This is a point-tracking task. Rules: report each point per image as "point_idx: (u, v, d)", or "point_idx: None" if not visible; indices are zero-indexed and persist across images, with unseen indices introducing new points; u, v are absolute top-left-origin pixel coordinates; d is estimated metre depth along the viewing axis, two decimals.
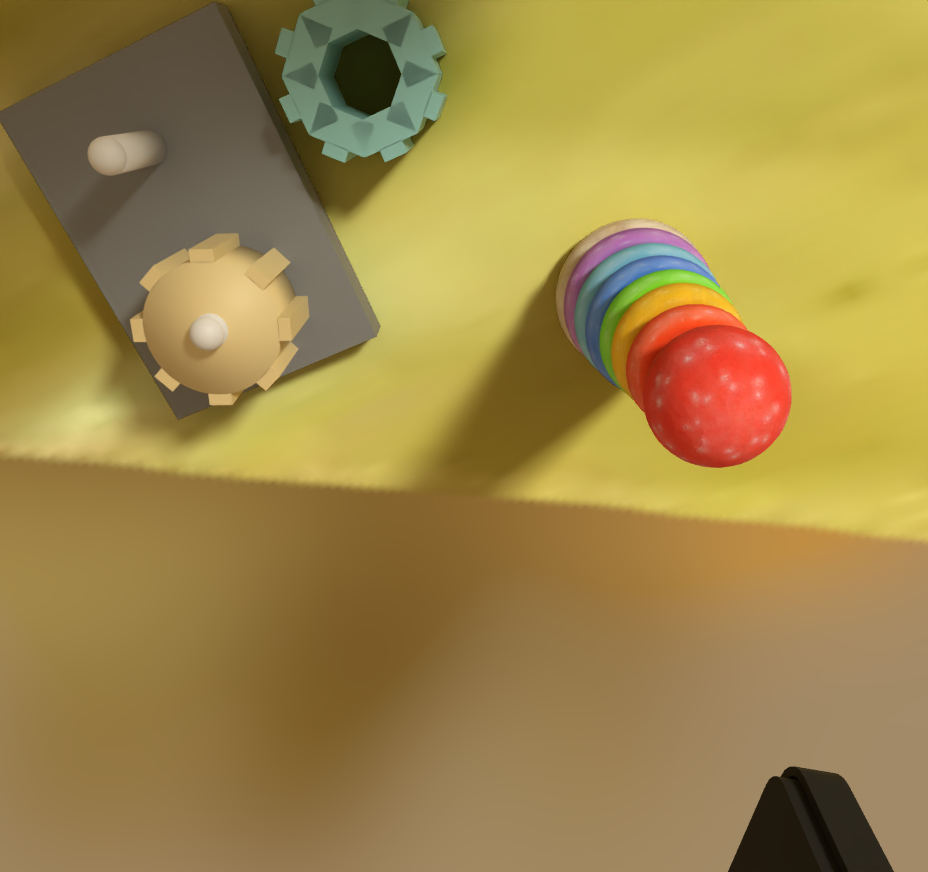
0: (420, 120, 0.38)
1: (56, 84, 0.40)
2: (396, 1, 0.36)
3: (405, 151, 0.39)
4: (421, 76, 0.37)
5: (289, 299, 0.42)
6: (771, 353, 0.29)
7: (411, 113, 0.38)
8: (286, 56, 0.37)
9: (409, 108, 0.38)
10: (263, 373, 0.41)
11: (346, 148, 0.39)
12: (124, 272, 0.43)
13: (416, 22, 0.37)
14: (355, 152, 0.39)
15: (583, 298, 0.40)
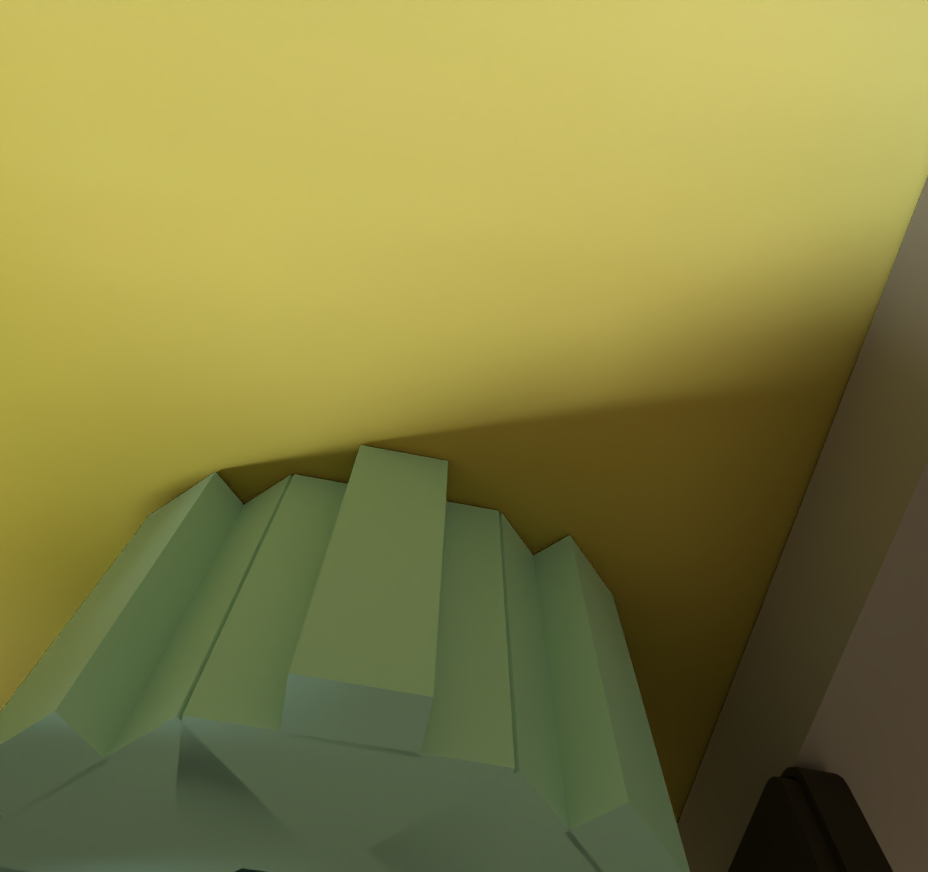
0: (130, 751, 0.07)
1: None
2: None
3: (293, 680, 0.06)
4: None
5: None
6: None
7: (159, 797, 0.07)
8: None
9: (156, 819, 0.07)
10: None
11: (568, 844, 0.07)
12: None
13: None
14: (541, 809, 0.07)
15: None
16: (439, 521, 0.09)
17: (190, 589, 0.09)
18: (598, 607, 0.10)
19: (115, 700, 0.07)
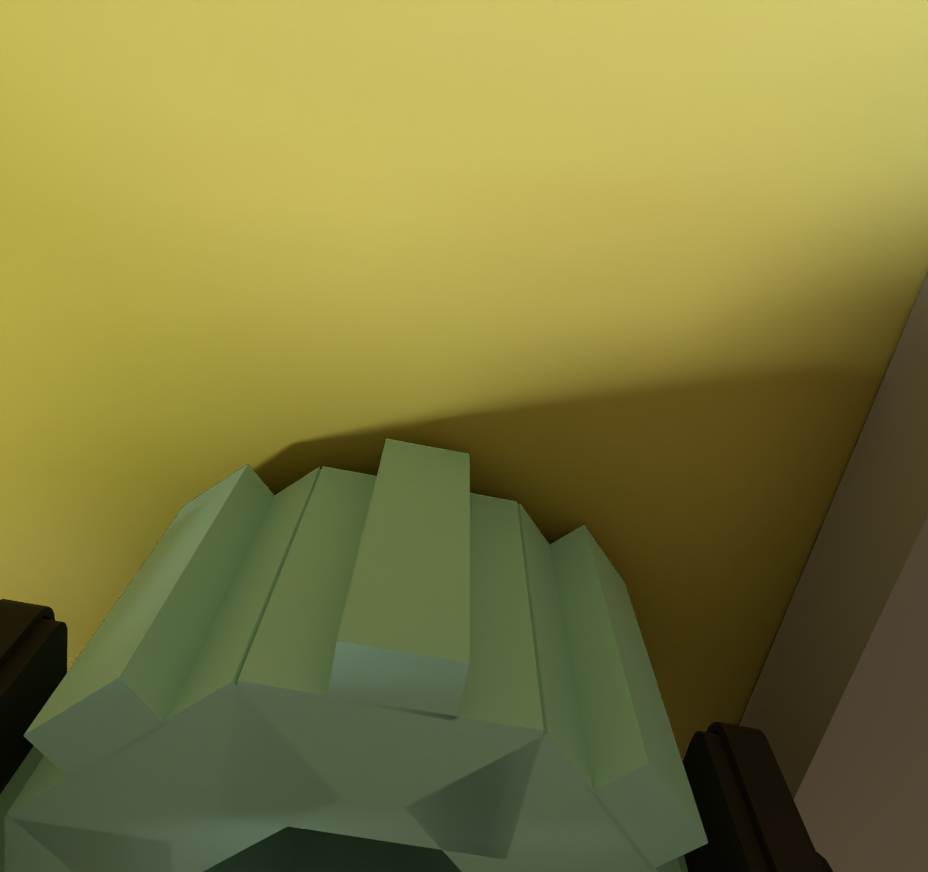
0: (188, 714, 0.07)
1: None
2: None
3: (340, 647, 0.07)
4: (86, 845, 0.08)
5: None
6: None
7: (212, 759, 0.07)
8: None
9: (209, 779, 0.07)
10: None
11: (592, 803, 0.07)
12: None
13: None
14: (567, 769, 0.07)
15: None
16: (464, 508, 0.10)
17: (230, 572, 0.09)
18: (613, 591, 0.10)
19: (170, 670, 0.08)
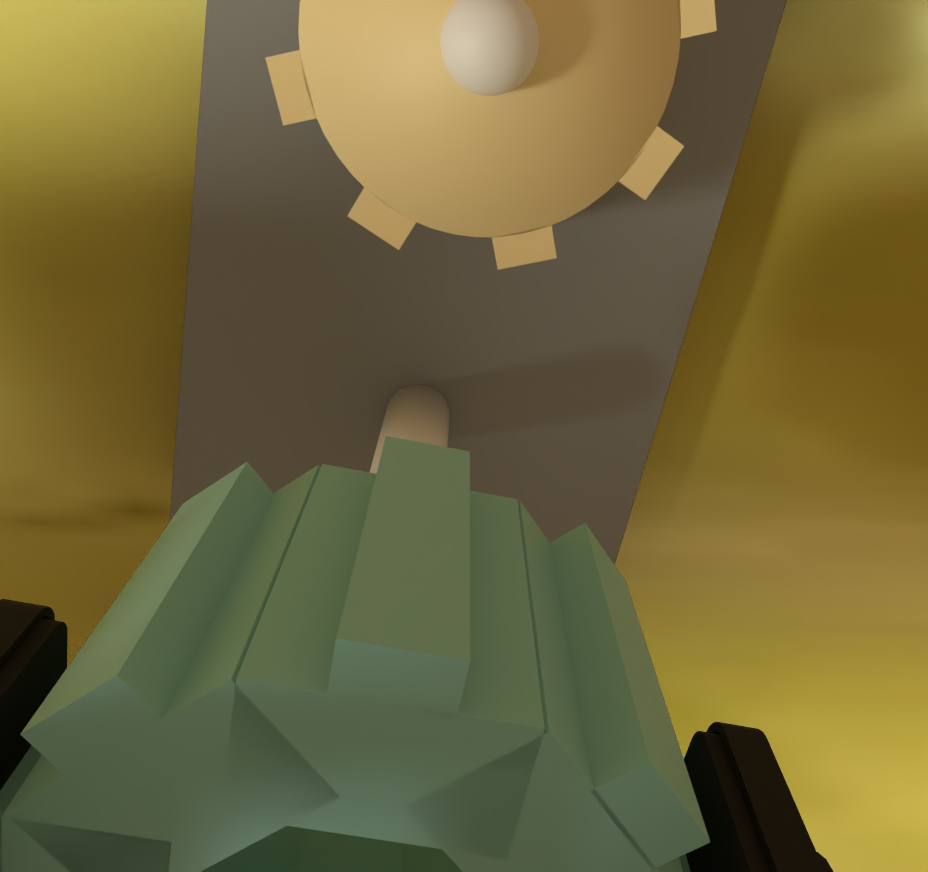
0: (186, 713, 0.07)
1: None
2: None
3: (340, 645, 0.07)
4: (85, 844, 0.08)
5: None
6: None
7: (211, 757, 0.07)
8: None
9: (208, 778, 0.07)
10: None
11: (593, 801, 0.07)
12: (634, 267, 0.20)
13: None
14: (568, 768, 0.07)
15: None
16: (465, 506, 0.10)
17: (229, 569, 0.09)
18: (613, 590, 0.10)
19: (168, 668, 0.08)
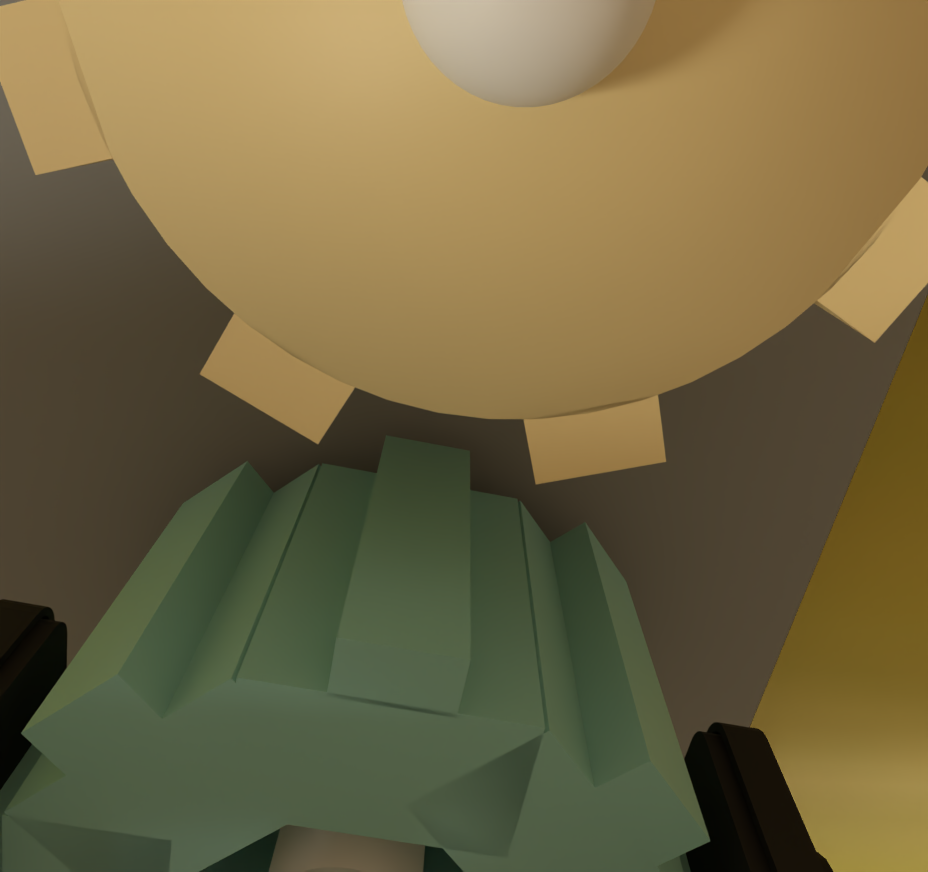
0: (187, 711, 0.07)
1: None
2: None
3: (341, 644, 0.07)
4: (86, 843, 0.08)
5: None
6: None
7: (212, 756, 0.07)
8: None
9: (208, 777, 0.07)
10: None
11: (594, 800, 0.07)
12: (761, 399, 0.12)
13: None
14: (569, 767, 0.07)
15: None
16: (465, 505, 0.10)
17: (230, 569, 0.09)
18: (614, 589, 0.10)
19: (169, 667, 0.08)
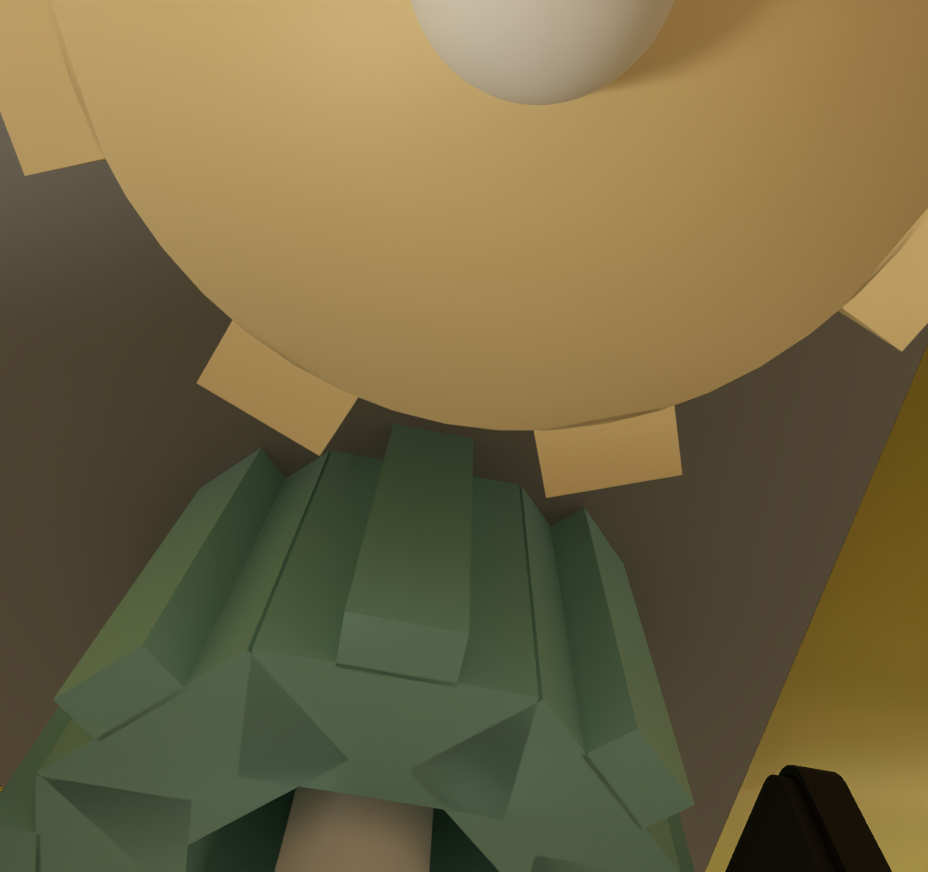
0: (206, 680, 0.08)
1: None
2: None
3: (348, 618, 0.07)
4: (112, 802, 0.08)
5: None
6: None
7: (229, 722, 0.08)
8: None
9: (226, 741, 0.08)
10: None
11: (585, 765, 0.08)
12: (775, 405, 0.11)
13: None
14: (562, 734, 0.08)
15: None
16: (467, 490, 0.10)
17: (245, 550, 0.10)
18: (610, 571, 0.11)
19: (189, 639, 0.08)
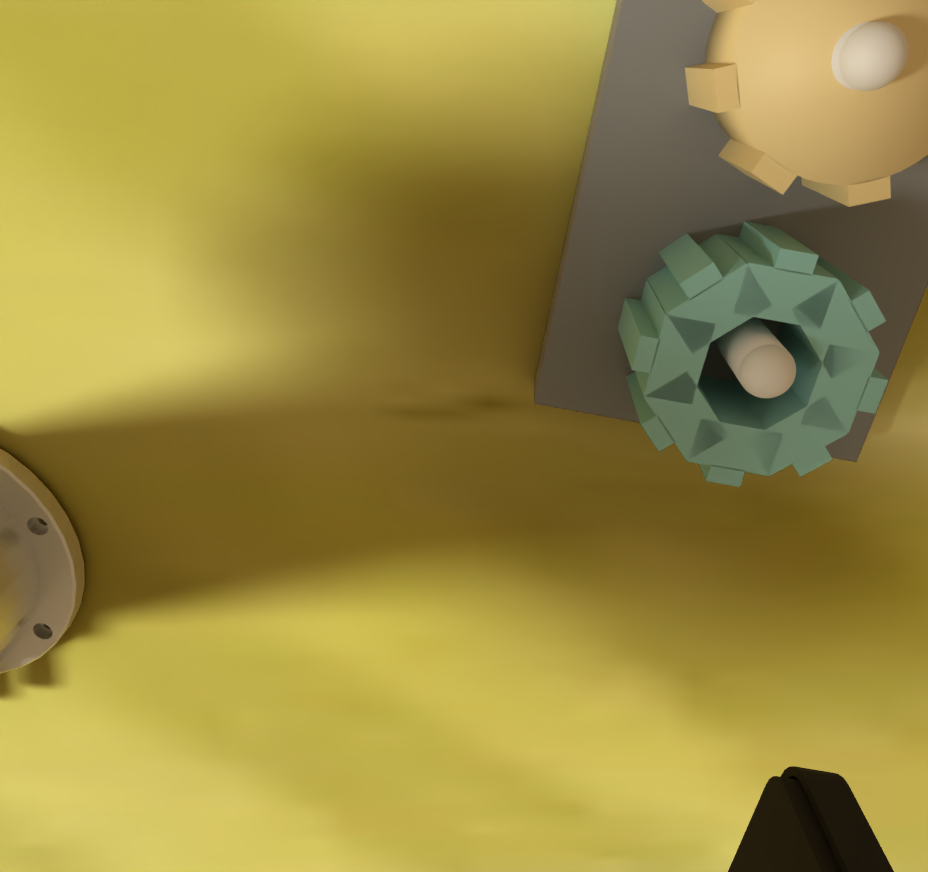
0: (730, 275, 0.24)
1: None
2: (653, 418, 0.26)
3: (781, 250, 0.24)
4: (688, 325, 0.25)
5: (724, 16, 0.24)
6: None
7: (735, 291, 0.25)
8: (822, 447, 0.26)
9: (732, 299, 0.25)
10: None
11: (850, 305, 0.24)
12: (905, 209, 0.27)
13: (648, 383, 0.26)
14: (844, 293, 0.24)
15: None
16: (789, 236, 0.27)
17: None
18: None
19: None
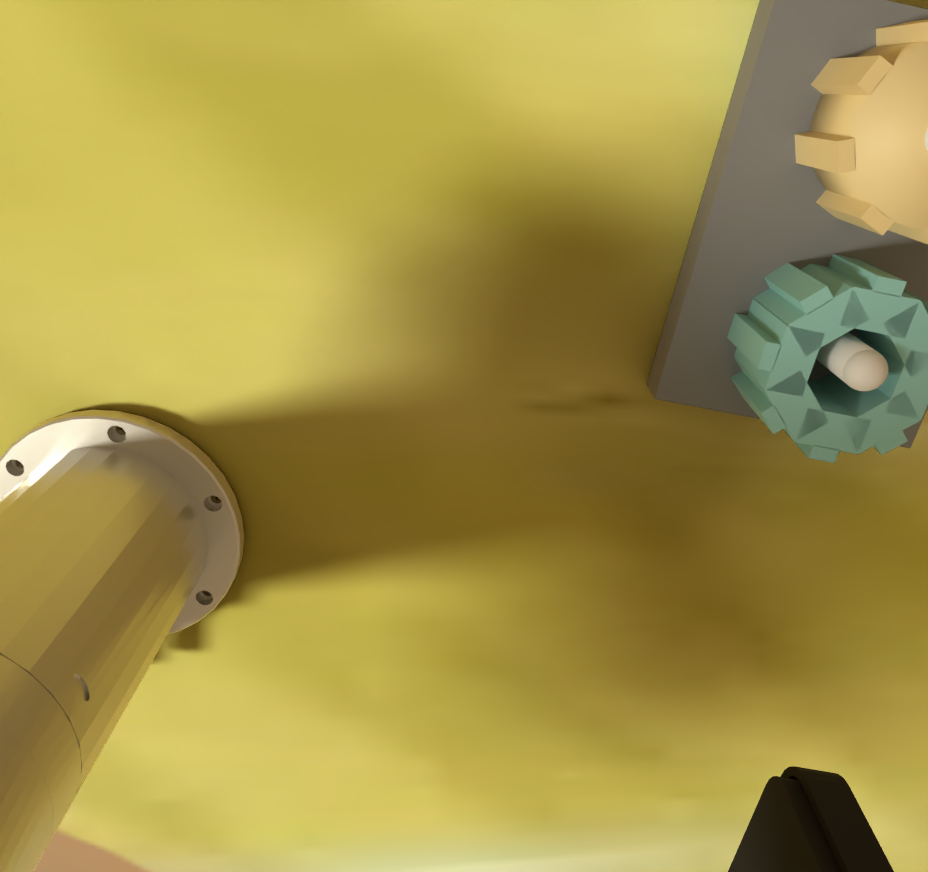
0: (839, 296, 0.32)
1: None
2: (771, 407, 0.33)
3: (879, 277, 0.31)
4: (804, 334, 0.32)
5: (833, 98, 0.32)
6: None
7: (841, 308, 0.32)
8: (900, 431, 0.34)
9: (839, 314, 0.32)
10: None
11: None
12: None
13: (769, 380, 0.33)
14: (924, 311, 0.32)
15: None
16: (873, 266, 0.34)
17: None
18: None
19: None
